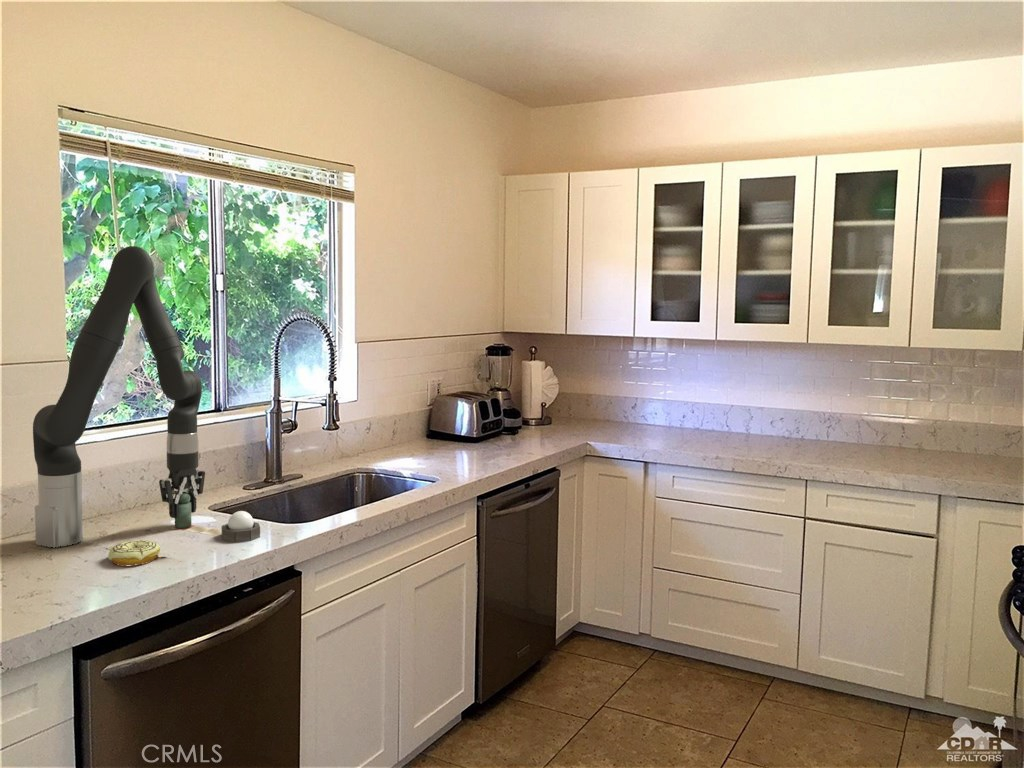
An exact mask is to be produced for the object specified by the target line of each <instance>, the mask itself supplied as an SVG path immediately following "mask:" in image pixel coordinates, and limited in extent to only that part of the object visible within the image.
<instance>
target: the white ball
mask: <svg viewBox="0 0 1024 768" xmlns="http://www.w3.org/2000/svg"><path fill="white" fill-rule="evenodd" d="M253 522H254V519H253V516H252V515H251V514H250V513H249V512H247V511H245V510H238V511H236V512H234V513H232V514H231V515H230V517H229V519H228V522H227V524H228V527H229V529H230V530H236V531H238V530H249V529H251V528H252V527H253Z"/></svg>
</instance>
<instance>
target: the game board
mask: <svg viewBox="0 0 1024 768" xmlns="http://www.w3.org/2000/svg"><path fill="white" fill-rule="evenodd" d="M191 525H192V526H191V527H188V528H175V525H174V526H172V527H170V529H173V530H179V531H185V532H192V533H197V534H203V535H208V536H217V535H219V534H221V539H222V541H225V542H229V543H247V542H251V541H254V540H256V539H257V540H258V539H260V538H261V526H260V524H259V522H254V521H253V527H252V528H251V529H249V530H238V531H236V530H230V529H229V527H228V523H225V524H223V525H221V529H218V528H210V527H205V526H198V525H193V524H191Z"/></svg>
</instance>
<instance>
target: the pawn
mask: <svg viewBox="0 0 1024 768" xmlns="http://www.w3.org/2000/svg"><path fill="white" fill-rule="evenodd" d="M189 501H190V495H189V494H188V493H187V492H186V491H183V493H182V495H180V498H179V501H178V503H179V517H178V518H174V526H175V528H188V527H191V526H192V525H193V524H192V513H191V502H189Z"/></svg>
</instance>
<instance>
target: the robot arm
mask: <svg viewBox="0 0 1024 768" xmlns="http://www.w3.org/2000/svg"><path fill="white" fill-rule="evenodd" d="M155 278H156V277H155V266H154V262H153V259H152V257H151V255H150V254H149V253H148V251H147V250H145V249H143V248H142V247H139V246H136V245H135V246H133V245H131V246H125V247H124V248H122V249H120V250H119V251H117V252H116V254H115V255H114V257H113V259H112V262H111V265H110V268H109V272H108V275H107V277H106V281H105V283H104V285H103V288H102V291H101V294H100V296H99V297H98V299H97V301H96V302H95V304H94V306H93V308H91V311H90V313H89V315H88V316H87V319H86V320H85V322H84V323H83V326H82V328H81V330H80V332H79V334H78V336H77V338H76V340H75V343H74V345H73V347H72V349H71V350H72V351H71V355H70V360H69V364H68V365H69V366H68V374H67V380H66V383H65V386H64V388H63V391H62V392H61V394H60V396H59V398H58V400H57V402H56V404H49V405H48V404H47V405H46V406H44V407H42V408H40V409H39V411H38V412H37V413H36V414H35V416H34V418H33V423H32V440H33V441H32V442H33V454H34V455H33V456H34V461H35V464H36V466H37V467H36V469H37V492H38V493H37V498H38V501H37V502H38V503H37V505H35V506H34V527H35V533H34V534H35V545H36V544H37V545H36V546H41V545H42V546H41V547H46V546H47V548H51V547H53V548H52V549H56V548H60V546H61V547H67V545H68V546H73V545H76V544H79V543H80V541H81V542H82V541H83V539H84V537H83V535H84V534H83V489H82V488H83V487H82V486H83V485H82V480H83V479H82V460H81V459H80V457H79V453H78V452H77V447H76V446H77V445H76V443H77V442H78V441H79V440H80V439H81V438H82V435H83V434H84V433H85V430H86V427H87V425H88V422H89V418H90V415H91V412H92V408H93V405H94V402H95V400H96V397H97V395H98V393H99V391H100V389H101V387H102V385H103V382H104V380H105V378H106V377H107V375H108V373H109V370H110V368H111V366H112V364H113V362H114V361H115V358H116V355H117V353H118V351H119V349H120V346H121V344H122V341H123V339H124V336H125V333H126V329H127V326H128V321H129V317H130V313H131V309H132V307H133V305H134V307H135V311H136V312H137V315H138V318H139V320H140V323H141V326H142V329H143V333H144V335H145V337H146V340H147V343H148V346H149V347H150V348H149V349H150V350H151V353H152V355H153V357H154V360H155V363H156V370H157V377H158V382H159V386H160V388H161V391H162V392H163V395H165V396H166V398H167V399H169V400H171V401H174V405H173V407H172V408H171V409H170V410H169V412H168V414H167V424H166V425H167V430H166V431H167V435H166V468H167V470H168V471H169V474H168V475H167V476H168V477H166V478H165V479H163V478H162V479H159V481H158V485H159V489H160V496H161V501H162V503H167V504H168V515H169V517H170V518H171V519H175V518H178V517H179V503H178V501H179V498H180V495H182V493H183V492H187V493H188V494H189V495H190V501H189V502H191V514H193V513H195V512H196V511H197V498H198V497H199V495H202V494H203V493H204V487H205V486H204V485H205V477H206V471H205V470H197V468H199V436H198V412H199V408H200V404H201V399H202V391H203V385H202V381H201V378H200V376H199V374H197V373H196V372H194V371H193V370H184V369H183V365H182V360H183V359H184V357H185V351H184V348H183V346H182V343H181V341H180V338H179V336H178V333H177V331H176V329H175V326H174V325H173V323H172V321H171V319H170V317H169V315H168V313H167V311H166V310H165V307H164V305H163V303H162V302H163V301H162V300H161V298H160V294H159V291H158V287H157V283H156V279H155ZM78 542H79V543H78ZM72 544H73V545H72ZM55 547H56V548H55Z"/></svg>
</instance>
